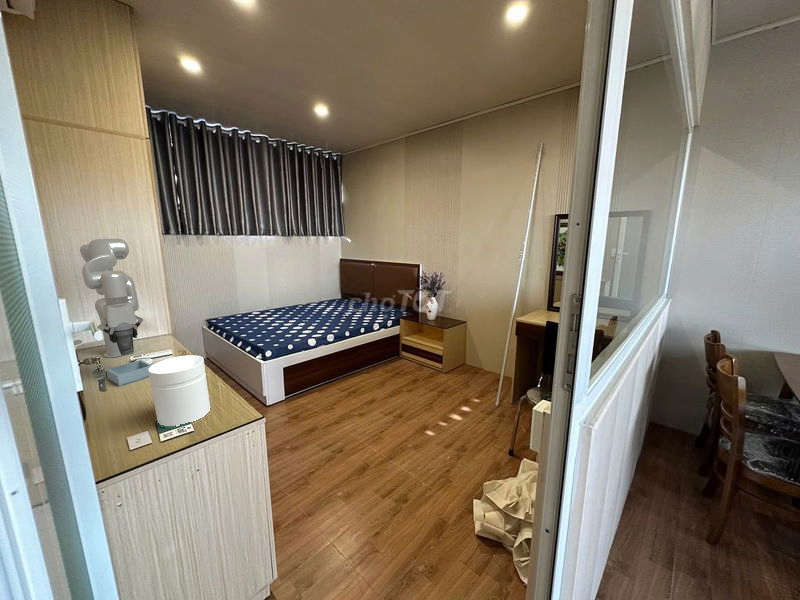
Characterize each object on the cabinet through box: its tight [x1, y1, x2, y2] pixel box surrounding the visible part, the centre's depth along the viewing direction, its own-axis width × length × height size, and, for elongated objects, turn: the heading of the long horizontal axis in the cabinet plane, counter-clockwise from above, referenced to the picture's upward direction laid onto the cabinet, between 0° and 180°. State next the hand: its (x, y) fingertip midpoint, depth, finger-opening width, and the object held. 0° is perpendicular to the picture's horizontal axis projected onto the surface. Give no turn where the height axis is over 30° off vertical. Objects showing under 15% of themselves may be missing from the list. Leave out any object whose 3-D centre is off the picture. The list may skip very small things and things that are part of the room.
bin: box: [105, 359, 153, 388], centre depth 145 cm, size 13×13×5 cm
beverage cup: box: [113, 323, 135, 357], centre depth 141 cm, size 7×7×20 cm
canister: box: [148, 354, 211, 426], centre depth 113 cm, size 16×16×20 cm
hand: (124, 339), depth 142 cm, fingers closed on beverage cup, 6 cm apart
